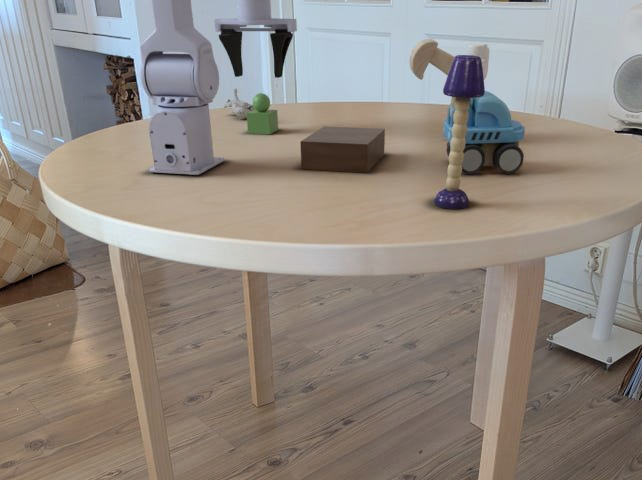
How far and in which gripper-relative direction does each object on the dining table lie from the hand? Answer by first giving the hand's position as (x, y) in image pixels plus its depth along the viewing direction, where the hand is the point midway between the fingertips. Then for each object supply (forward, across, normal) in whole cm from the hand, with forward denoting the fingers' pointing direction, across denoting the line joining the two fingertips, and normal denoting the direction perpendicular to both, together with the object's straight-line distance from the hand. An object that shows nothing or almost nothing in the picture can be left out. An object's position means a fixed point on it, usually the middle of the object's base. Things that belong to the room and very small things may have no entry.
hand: (258, 76), depth 119 cm
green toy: (+10, 0, 0) cm, 10 cm away
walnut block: (+10, -21, +20) cm, 31 cm away
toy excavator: (+10, -39, +20) cm, 45 cm away
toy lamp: (+10, -40, +39) cm, 57 cm away
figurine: (+10, -38, -2) cm, 40 cm away
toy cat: (+10, +9, -12) cm, 18 cm away
